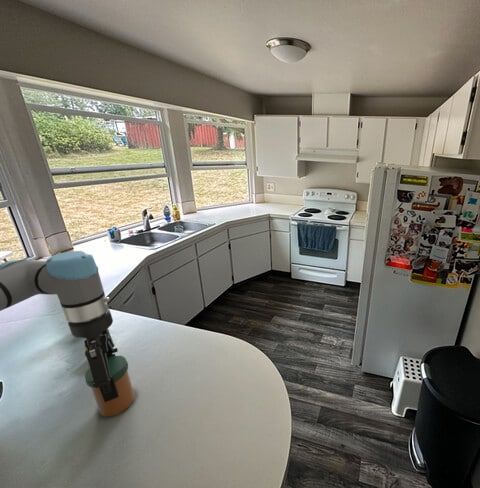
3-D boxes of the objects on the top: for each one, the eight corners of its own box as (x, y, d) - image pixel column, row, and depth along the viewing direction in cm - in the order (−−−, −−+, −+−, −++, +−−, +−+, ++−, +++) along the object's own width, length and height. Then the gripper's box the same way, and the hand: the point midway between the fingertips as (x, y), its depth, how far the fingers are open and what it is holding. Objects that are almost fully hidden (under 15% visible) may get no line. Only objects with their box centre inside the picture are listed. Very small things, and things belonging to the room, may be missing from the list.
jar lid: (127, 378, 65) (125, 371, 64) (84, 393, 60) (81, 386, 60) (128, 357, 71) (127, 351, 71) (89, 370, 67) (87, 363, 66)
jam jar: (98, 422, 64) (85, 387, 60) (101, 399, 70) (89, 366, 66) (134, 406, 68) (124, 373, 64) (134, 386, 74) (125, 354, 70)
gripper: (105, 333, 54) (129, 409, 61) (112, 291, 70) (131, 355, 77) (55, 347, 50) (88, 427, 57) (76, 299, 66) (99, 366, 73)
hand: (113, 386), depth 67 cm, fingers closed on jar lid, 8 cm apart
